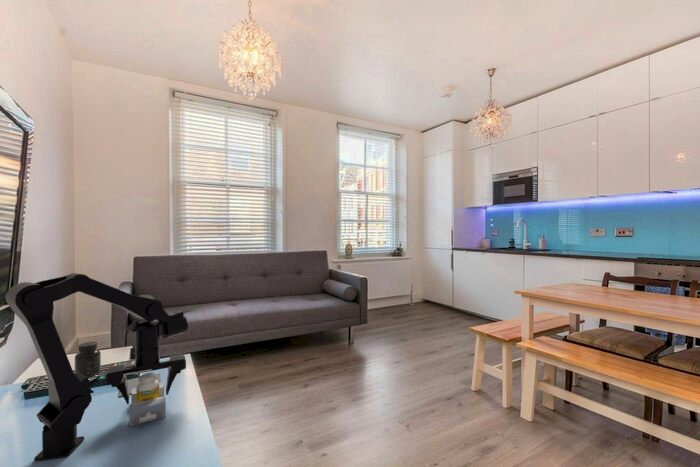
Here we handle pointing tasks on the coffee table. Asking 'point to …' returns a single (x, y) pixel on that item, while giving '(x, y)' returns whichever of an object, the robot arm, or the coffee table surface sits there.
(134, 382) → the white flat square
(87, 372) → the supplement bottle
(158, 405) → the vise
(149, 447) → the coffee table surface
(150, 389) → the supplement bottle
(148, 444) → the coffee table surface
